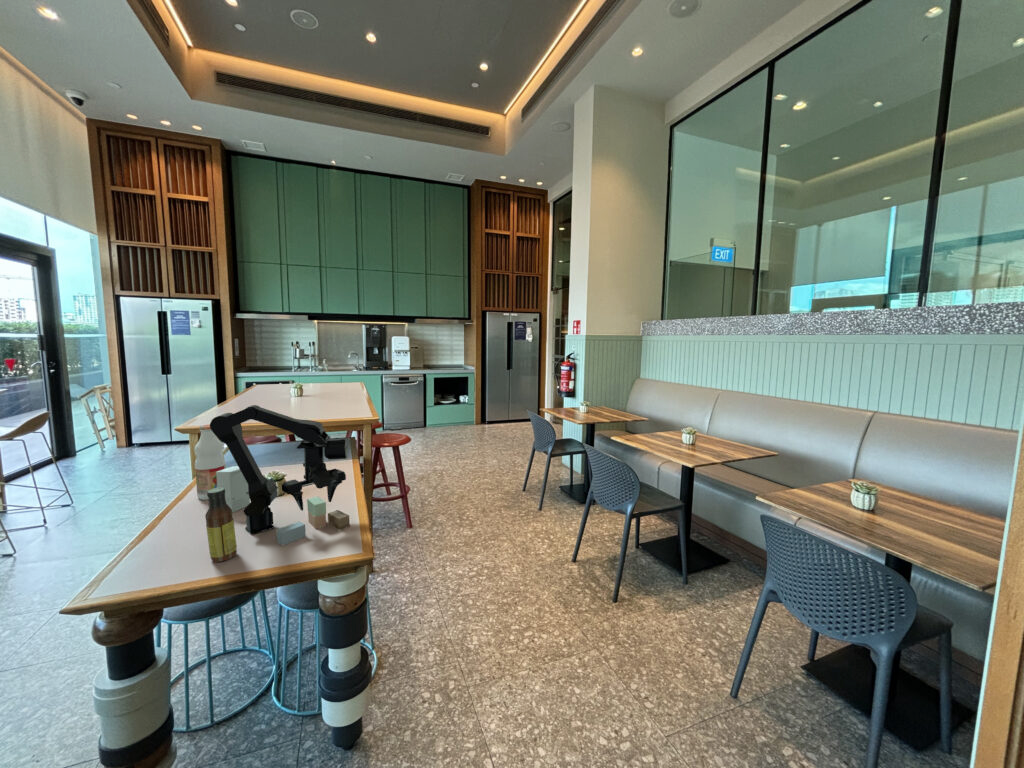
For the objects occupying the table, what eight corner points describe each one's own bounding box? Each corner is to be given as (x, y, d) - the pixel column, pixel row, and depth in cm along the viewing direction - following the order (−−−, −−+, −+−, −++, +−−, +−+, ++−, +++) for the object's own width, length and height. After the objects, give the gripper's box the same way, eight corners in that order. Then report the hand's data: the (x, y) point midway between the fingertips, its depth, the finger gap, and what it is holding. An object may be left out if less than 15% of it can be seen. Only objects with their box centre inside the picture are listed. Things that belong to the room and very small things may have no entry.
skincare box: (232, 513, 144) (229, 472, 142) (217, 512, 145) (214, 471, 143) (251, 504, 152) (248, 465, 150) (237, 503, 153) (234, 464, 151)
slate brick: (282, 545, 122) (281, 532, 121) (277, 542, 124) (276, 529, 123) (305, 536, 127) (305, 524, 127) (300, 533, 129) (299, 521, 129)
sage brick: (326, 513, 135) (325, 502, 134) (315, 516, 132) (314, 505, 132) (318, 507, 140) (317, 496, 139) (307, 510, 137) (307, 499, 137)
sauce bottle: (236, 549, 119) (232, 483, 117) (237, 558, 114) (233, 490, 112) (208, 556, 115) (203, 488, 113) (208, 566, 110) (203, 495, 108)
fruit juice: (202, 493, 163) (197, 424, 160) (230, 490, 166) (225, 422, 163) (193, 501, 154) (187, 429, 151) (222, 498, 157) (217, 427, 154)
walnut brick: (349, 527, 134) (349, 515, 134) (339, 530, 131) (339, 519, 131) (338, 521, 138) (337, 509, 138) (328, 524, 136) (327, 513, 135)
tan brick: (326, 525, 135) (325, 514, 134) (314, 528, 133) (314, 517, 132) (319, 518, 140) (318, 507, 140) (308, 521, 138) (307, 510, 137)
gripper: (294, 472, 122) (297, 522, 123) (353, 458, 136) (354, 504, 138) (279, 464, 129) (282, 512, 131) (337, 452, 143) (338, 495, 145)
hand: (316, 506), depth 136 cm, fingers open, 9 cm apart
